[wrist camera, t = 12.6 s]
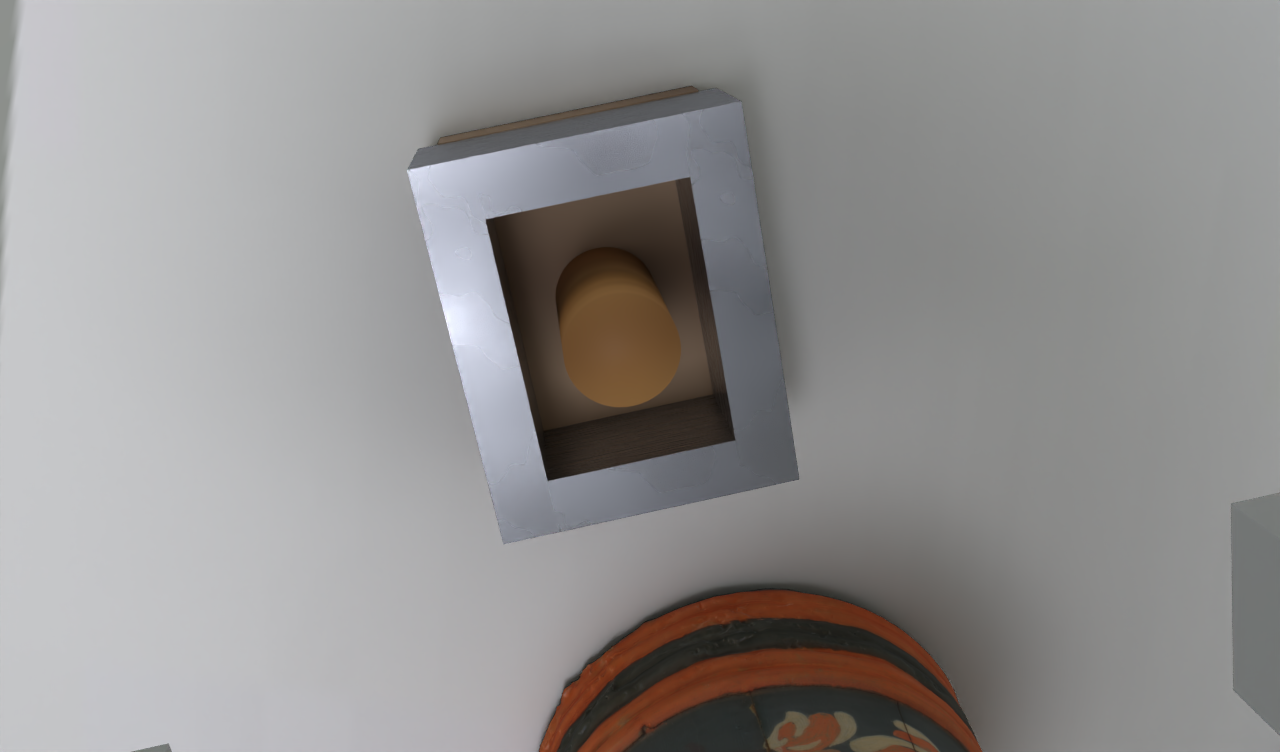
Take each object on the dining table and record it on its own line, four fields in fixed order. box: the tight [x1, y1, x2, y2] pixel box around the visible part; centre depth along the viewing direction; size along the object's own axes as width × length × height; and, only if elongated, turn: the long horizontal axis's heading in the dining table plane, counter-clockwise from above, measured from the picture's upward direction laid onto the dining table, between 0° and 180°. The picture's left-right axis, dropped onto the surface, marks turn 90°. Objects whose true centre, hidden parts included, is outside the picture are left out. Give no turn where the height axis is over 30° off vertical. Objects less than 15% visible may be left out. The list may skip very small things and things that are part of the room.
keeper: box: [438, 86, 713, 431], centre depth 30 cm, size 10×7×6 cm
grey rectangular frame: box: [407, 88, 799, 544], centre depth 30 cm, size 10×8×4 cm
